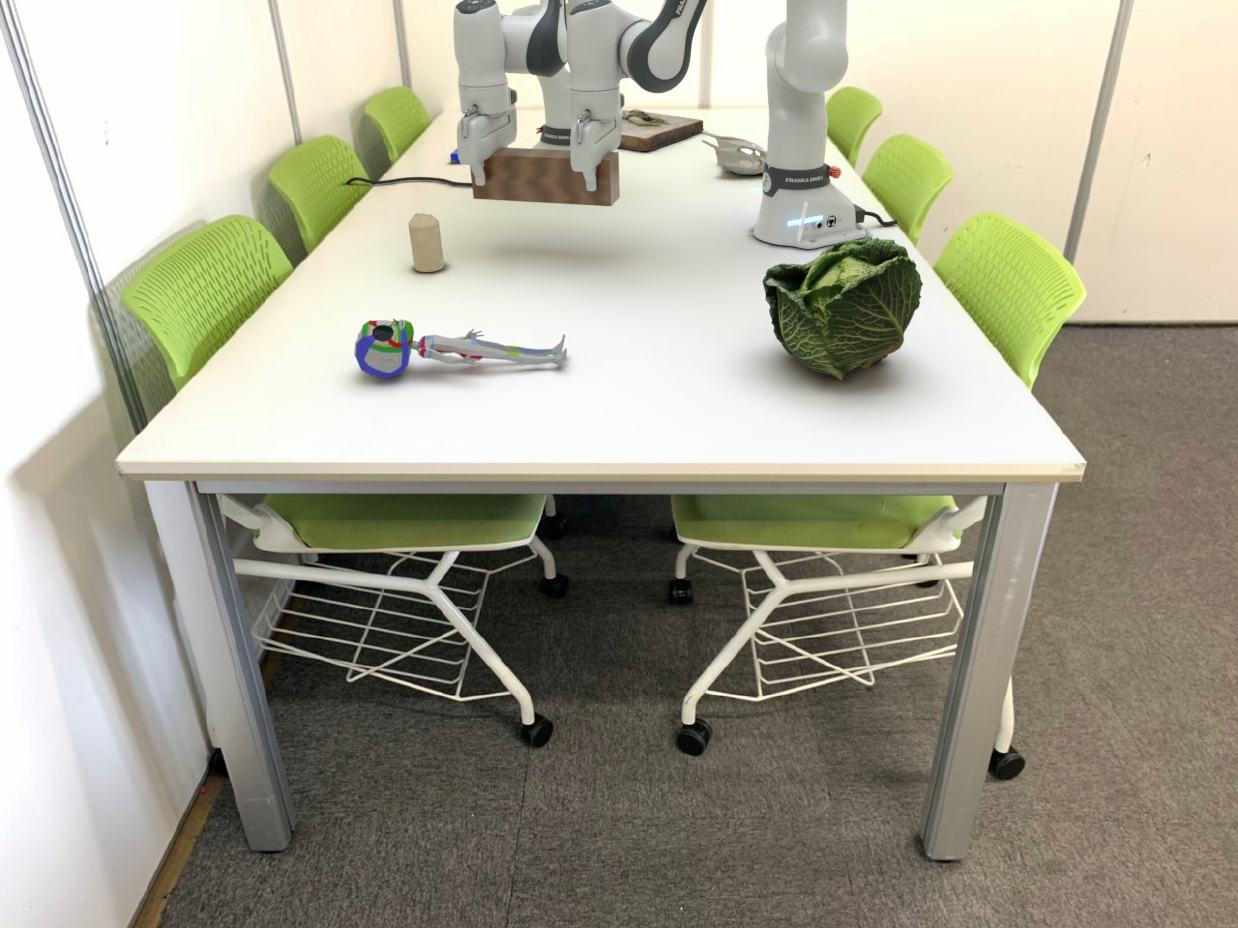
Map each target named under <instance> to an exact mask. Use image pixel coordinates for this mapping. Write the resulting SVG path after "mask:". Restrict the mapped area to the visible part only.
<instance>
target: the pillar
mask: <svg viewBox="0 0 1238 928" xmlns="http://www.w3.org/2000/svg"><path fill="white" fill-rule="evenodd" d="M449 155H450V164H461V163H460V161H459V159H458V149H457V148H456V149H454V151H452V152H451V153H450V154H449Z"/></svg>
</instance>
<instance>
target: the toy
mask: <svg viewBox="0 0 1238 928" xmlns="http://www.w3.org/2000/svg"><path fill="white" fill-rule="evenodd" d="M474 331H475V328H472V329H471V330H469V331H468V332H467V333H466V334H465V335H463V336H458V337H449V336H448V337H447V336H442V335H439V334H428V335H423V336H421V338H420V339H419V341H417V340H414V336H415V329H414V326H413V324H412V322H410V321H408V320H407V319H399V320H397V319H395V318H392V320H387V319H379V320H368V321H367V322H365V323H364V324H362V326H361V329H360V331H359V333H358V334H357V338H356V340H355V342H354V354H353V355H354V357H355V359H356V362H357V364H358V366H359V369H360V370H361V372H364V373H366V374H367V375H370V376H373V377H377V378H382V379H383V378H384V379H392V378H394V377H396V376H398V375H400V374H401V375H402V374H403V372H404V371H405V370H406V368H407V367H408V366H409V364H410V357H411V355H412V350H415V351H417V353H418V356H419V357H421V358H422V359H430V360H434V361H438V362H442V363H444V364H449V365H458V364H459V365H461V364H465V365H471V366H477V367H479V368H480V367H481V366H482V365H483V363H482V362H478V361H480V360H482V359H487V360H488V359H489V360H503V361H509V362H514V363H517V364H520V365H528V366H529V365H542V364H550V363H553V364H555V365H557V366H559V367H562V366H563V364H564V362H565V361H566V360H567V357H568V355H567V353H568V348H566V347H565V348H564V345H565V340H566V334H565V333H563V334H562V338H561V340H560V341H559V343H558V344H556V345H555V346H554V347H552V348H533V347H532V348H531V347H523V346H518V345H517V346H516V345H504V344H501V343H498V342H494V341H488V340H482V339H478V338H479V337H480V338H481V337H485V334H480V333H482V332H483V331H482V330H479V331H476V332H474ZM563 349H564V350H563ZM453 353H455V354H457V355H459V357H458V356H455V355H448V354H453ZM445 354H447V355H445Z"/></svg>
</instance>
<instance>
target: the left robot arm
mask: <svg viewBox="0 0 1238 928" xmlns="http://www.w3.org/2000/svg"><path fill="white" fill-rule="evenodd" d="M566 1H567V2H566ZM588 1H593V0H539V4H532V5H527V6H522V7H519V8H515V9H514V10H513V12H512V13H511V14H510V15H508V14H503V13H501V12H500V8H499V5H498V2H497V0H461V1H460V2H458V3H457V4H456V5H455V6H454V10H453V18H452V19H453V25H452V28H453V29H452V31H453V33H452V34H453V35H452V36H453V49H454V57H455V58H454V59H455V61H456V63H457V67H458V77H457V89H458V97H459V105H460V107H459V108H460V112H461V113H462V115H461V118H460V119H459V120H458V122H457V124H456V147H457V148H456V149H458V159H459V161H460V163H459V164H461V165H464V166H469V167H470V166H471V169H472V171H473V174H474V176H475V183H476V185H479V186H483V185H485V184H486V183H487V174H485V173H484V169H483V167H484V161H485V160H486V159H488V158H489V157H491V156H492V155H493V154H494V153H496V152H497V151H499V150H501V149H502V148H509V147H508V146H509V145H512V144H513V143H514V142H516V139H517V135H518V115H517V106H516V103H518V92H517V90H516V89H514V88H511V87H509V83H508V82H509V81H508V77H507V74H517V75H518V74H519V75H520V74H521V75H532V76H535V77H536V78H537V80H538V83H539V86H540V89H541V93H542V99H543V107H544V118H545V119H544V120H545V121H544V122H545V123H544V124H543V125H541V126H540V127H537V128H535V130H536V132H535V133H536V134H540V138H539V141H538V142H536V143H535V144H534V145H533V146H532V147H530V149H551V150H570V136H571V129H572V126H573V125H574V124H576V123H577V121H578V120H577V119H576V118H573V117H571V115H570V100H569V81H570V70H568V69H567V68H566V65H567V64H568V61H567V23H568V17H569V14H570V12H571V11H572V10H573V8H574V7H576V6H578V5H579V4H582V3H585V2H588ZM355 181H357V182H363V183H367V184H372V185H386V184H393V183H399V182H407V181H429V182H430V181H431V182H441V183H445V184H448V185H453V186H457V187H459V186H460V187H472V182H459V181H458V182H457V181H453V180H449V179H447V178H442V177H433V176H407V177H398V178H391V179H385V180H371V179H367V178H364V177H359V176H355V177H351V178H349V179H348V180H347V181H346V182H345V185H350V184H351V183H353V182H355Z"/></svg>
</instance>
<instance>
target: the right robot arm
mask: <svg viewBox="0 0 1238 928" xmlns="http://www.w3.org/2000/svg"><path fill="white" fill-rule="evenodd" d="M707 2H708V0H663V2H662V5H661V8H660V10H659V12H658V14H657V16H656V17H655V18H654V19H653V20H650V19H646V18H643V17H640V16H637V15H635V14H633V13H630V12H628V11H627V10H625V9H623V8H621V7H620V6H618V5H617V4H615V3H614V2H613V0H593V1H588V2H585V3H582V4H579V5H578V6H576V7H574V8H573V10H572V11H571V12H570V14H569V17H568V23H567V64H568V68H569V72H570V81H569V100H570V115H571V117H573V118H576V119H577V120H578V121H577V123H576V124H574V125H573V126H572V129H571V136H570V160H571V167H572V170H573V171H576V172H583V175H584V178H585V180H586V189H587V190H588V191H595V190H596V189H597V188H598V179H596V173H595V172H596V166H597V165H599V164H600V163H601V161H602V159H603V158H604V157H606V156H607V155H608V154H609V153H610V152H615V151H616V150H617V149H618V148H619V145H620V142H621V135H622V110H623V108H624V107H625V103H626V101H625V98H626V97H625V95H624V93H623V92H621V89H620V87H621V86H620V83H621V81H622V80H623V79H630V80H631V81H633V82H635V83H636V84H637V86H639V88H641V89H642V90H644V91H646V92H648V93H651V94H652V93H653V94H664V93H668V92H669V91H672V90H674V89H675V88H676V87H678V85H680V84H681V82H682V81H683V80H684V78H685V77H686V75H687V73H688V70H689V68H690V63H691V55H692V45H693V39H694V35H695V32H696V29H697V26H698V25H699V21H700V19H701V17H702V15H703V13H704V9H705V7H706V5H707ZM847 29H848V0H786V20H784V21H782V22H780V23H779V24H777V25H776V26H775V27H774V28H773V29H772V30H771V31H770V33H769V35H768V36H767V39H766V42H765V45H764V46H765V48H764V52H765V53H764V54H765V62H766V87H767V88H766V89H767V90H766V91H767V105H768V106H767V107H768V134H767V147H766V148H767V149H766V151H767V161H766V162H765V163H764V171H763V173H762V184H761V185H762V187H761V188H759V187H758V188H750V193H751V194H753V193H762V197H761V204H760V209H759V213H758V217H757V220H756V223H755V226H754V229H753V231H752V234H753V236H754V237H755V238H756V239H758V240H759V241H762V242H765V243H768V244H772V245H778V246H785V247H787V246H788V247H795V248H800V249H805V250H813V249H817V248H822V247H827V246H831V245H832V246H833V245H835V244H837V243H838V242H844V241H848V240H860V239H865V238H866V235H867V232H866V229H865V227H864V226H863V225H861V224H862V223H865V216H869V217H872V218H875V219H876V220H877V222H878V223H879V224H880V225H881V226H884V227H890V226H892V225H893V226H894V225H897V224H898V220H896V219H895V220H894V219H893V220H890V221H885V220H883V218H882V217H881V216H880V215H879V214H877V213H876V212H874V211H873V212H872V211H867V210H866V209H864V208H862V207H860V206H859V205H858V204H855V203H853V201H852V200H851V199H850V198H849V197H848V196H847V195H846V194H844V193H843V192H842V191H841V190H840V189H839V188H838V187H836V186H835V185H834V184H833V183H832V182H831V177H832V178H833V179H839V178H840V177H841V176H842V169H841V168H840V167H837V166H836V165H833V166H831V165H829V164H827V163H825V156H826V148H827V137H828V130H829V129H828V128H829V118H828V114H827V109H826V96H825V92H829V91H830V90H832V89H834V88H835V87H837V86H838V85H839V84H840V82H841V81H842V80H843V79H844V77H845V75H846V73H847V71H848V67H849V52H848V46H847V34H848V33H847V31H848V30H847Z"/></svg>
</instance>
